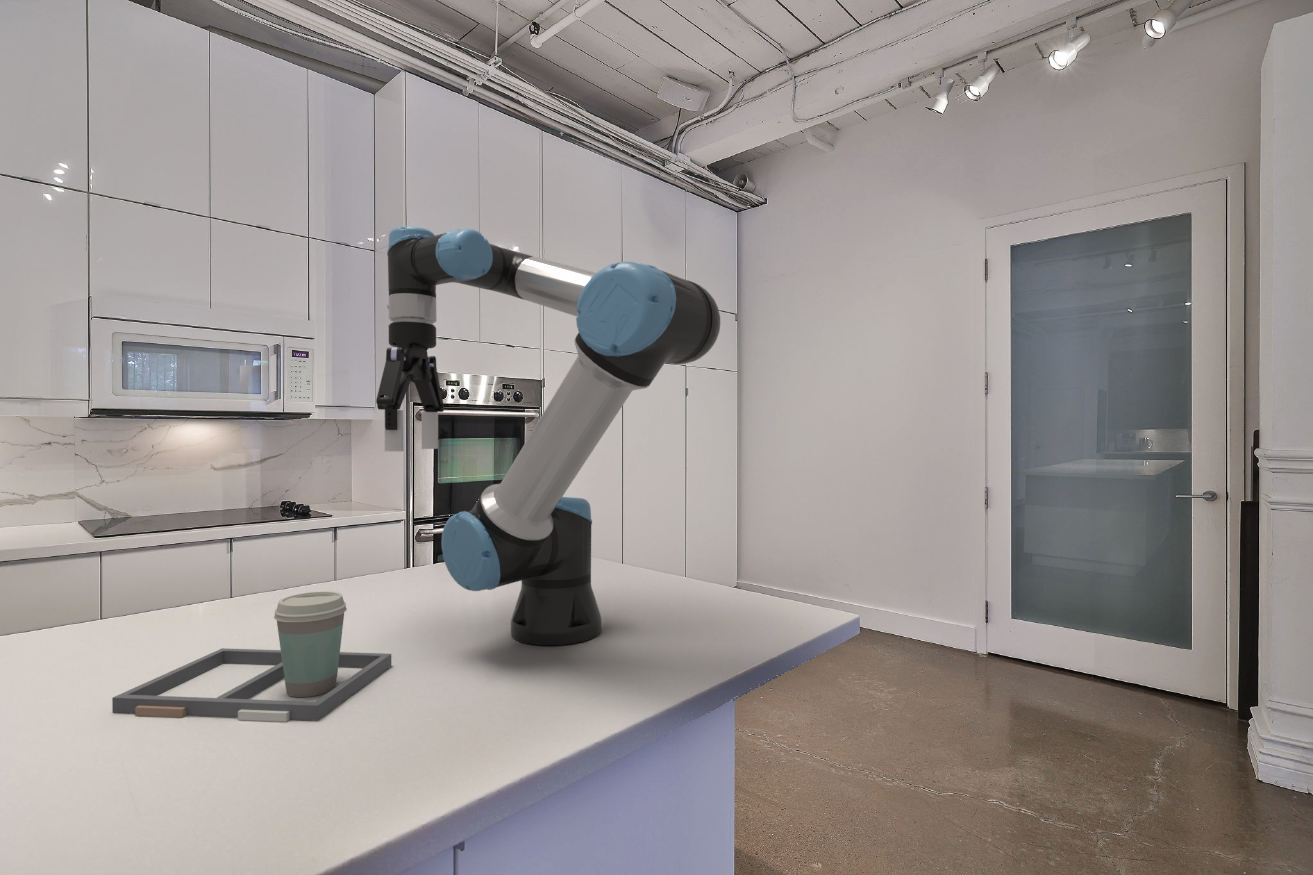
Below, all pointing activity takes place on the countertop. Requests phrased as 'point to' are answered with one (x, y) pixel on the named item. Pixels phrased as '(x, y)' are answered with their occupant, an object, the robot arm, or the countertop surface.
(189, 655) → the countertop surface
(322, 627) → the coffee cup
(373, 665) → the divided tray
